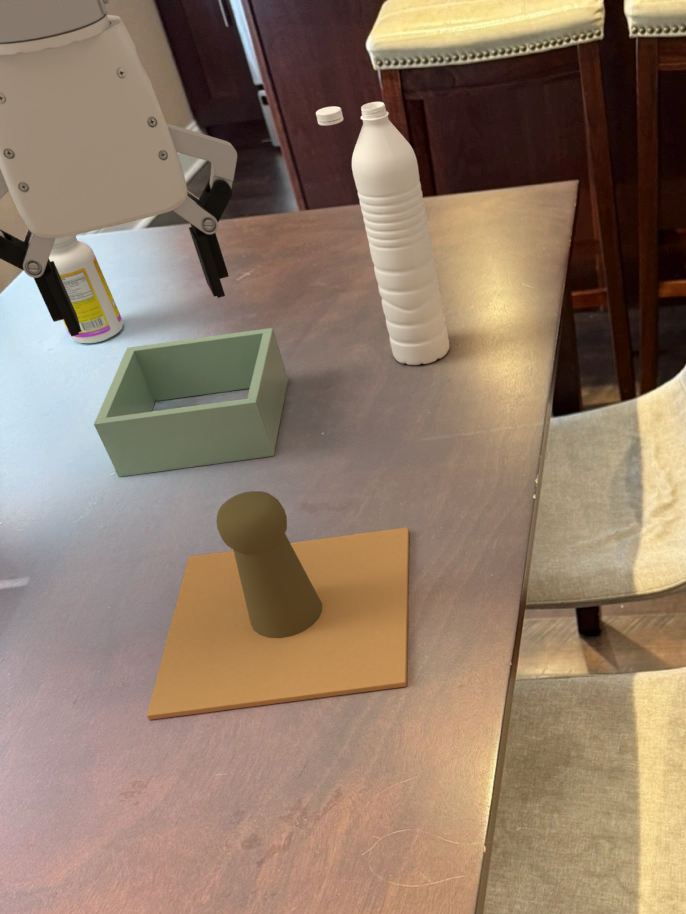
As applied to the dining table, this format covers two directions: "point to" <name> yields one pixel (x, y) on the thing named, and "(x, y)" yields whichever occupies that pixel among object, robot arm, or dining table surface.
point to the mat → (295, 657)
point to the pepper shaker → (268, 565)
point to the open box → (202, 426)
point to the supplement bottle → (86, 290)
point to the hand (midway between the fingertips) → (146, 308)
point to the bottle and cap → (397, 235)
